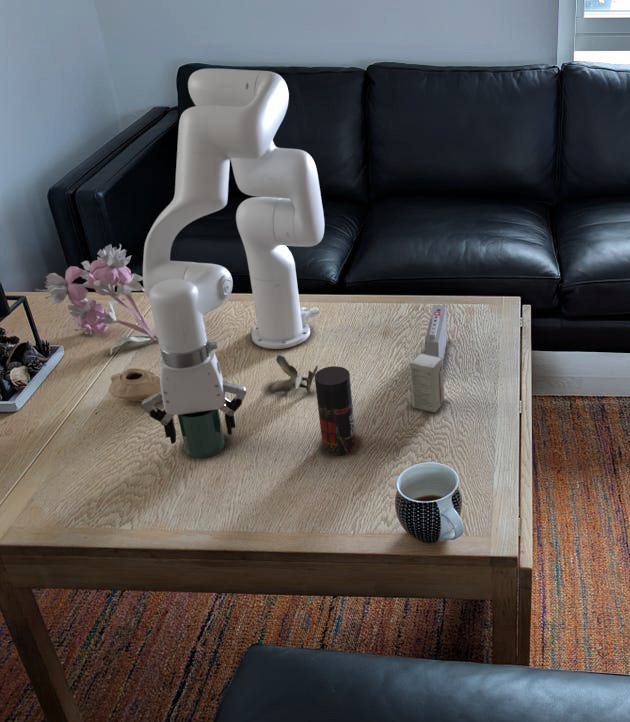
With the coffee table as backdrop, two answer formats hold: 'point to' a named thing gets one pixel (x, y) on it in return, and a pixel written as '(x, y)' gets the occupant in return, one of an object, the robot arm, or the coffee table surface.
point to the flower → (104, 280)
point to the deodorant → (335, 410)
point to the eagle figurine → (294, 380)
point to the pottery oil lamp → (134, 384)
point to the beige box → (427, 382)
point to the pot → (202, 433)
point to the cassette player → (436, 332)
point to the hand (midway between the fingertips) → (202, 434)
